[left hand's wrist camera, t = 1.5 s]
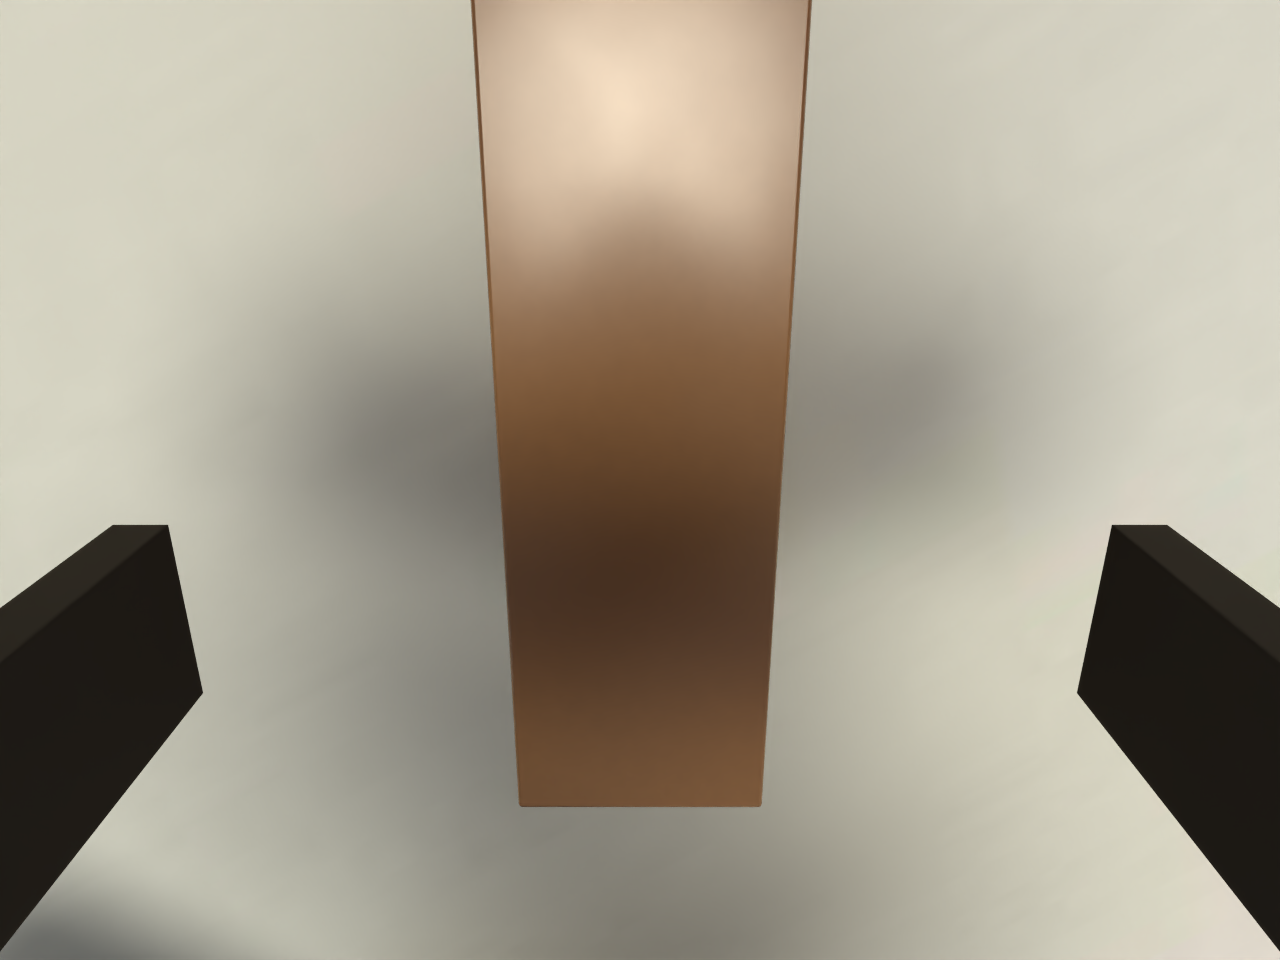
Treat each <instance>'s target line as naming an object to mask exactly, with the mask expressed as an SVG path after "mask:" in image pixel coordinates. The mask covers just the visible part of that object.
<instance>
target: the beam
mask: <svg viewBox="0 0 1280 960" xmlns="http://www.w3.org/2000/svg"><path fill="white" fill-rule="evenodd" d="M811 8H812V0H471V12H472V29H473V45H474V62H475V79H476V96H477V112H478V129H479V146H480V163H481V179H482V196H483V213H484V229H485V246H486V263H487V280H488V296H489V313H490V330H491V346H492V363H493V380H494V397H495V413H496V430H497V447H498V464H499V480H500V497H501V514H502V530H503V547H504V564H505V581H506V597H507V614H508V631H509V647H510V664H511V681H512V698H513V714H514V731H515V748H516V765H517V781H518V798H519V805H520V806H522V807H760V806H761V804H762V790H763V774H764V758H765V742H766V727H767V711H768V695H769V679H770V663H771V647H772V631H773V615H774V599H775V583H776V567H777V551H778V535H779V519H780V503H781V487H782V471H783V455H784V439H785V423H786V407H787V391H788V375H789V359H790V343H791V327H792V311H793V295H794V279H795V264H796V248H797V232H798V216H799V200H800V184H801V168H802V152H803V136H804V120H805V104H806V88H807V72H808V56H809V40H810V24H811Z"/></svg>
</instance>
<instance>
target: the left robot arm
mask: <svg viewBox="0 0 1280 960" xmlns="http://www.w3.org/2000/svg"><path fill="white" fill-rule="evenodd" d="M202 694H203V691H202V686H201V681H200V676H199V672H198V667H197V662H196V657H195V652H194V648H193V643H192V638H191V633H190V628H189V624H188V619H187V614H186V609H185V604H184V600H183V595H182V590H181V585H180V580H179V576H178V571H177V566H176V561H175V556H174V552H173V547H172V542H171V537H170V532H169V528H168V525H112V526H111V527H110V528H108V529H107V530H105V531H104V532H103V533H101V534H100V535H99V536H97V537H96V538H95V539H93V540H92V541H91V542H89V543H88V544H86V545H85V546H84V547H82V548H81V549H80V550H78V551H77V552H76V553H74V554H73V555H72V556H70V557H69V558H67V559H66V560H65V561H63V562H62V563H61V564H59V565H58V566H57V567H55V568H54V569H53V570H51V571H50V572H49V573H47V574H46V575H44V576H43V577H42V578H40V579H39V580H38V581H36V582H35V583H34V584H32V585H31V586H30V587H28V588H27V589H25V590H24V591H23V592H21V593H20V594H19V595H17V596H16V597H15V598H13V599H12V600H11V601H9V602H8V603H7V604H5V605H4V606H2V607H1V608H0V951H1V950H2V948H3V947H4V946H5V945H6V943H7V942H8V941H9V939H10V938H11V937H12V936H13V934H14V933H15V932H16V931H17V929H18V928H19V927H20V925H21V924H22V923H23V922H24V920H25V919H26V918H27V917H28V915H29V914H30V913H31V911H32V910H33V909H34V908H35V906H36V905H37V904H38V903H39V901H40V900H41V899H42V897H43V896H44V895H45V894H46V892H47V891H48V890H49V889H50V887H51V886H52V885H53V883H54V882H55V881H56V880H57V878H58V877H59V876H60V874H61V873H62V872H63V871H64V869H65V868H66V867H67V866H68V864H69V863H70V862H71V860H72V859H73V858H74V857H75V855H76V854H77V853H78V852H79V850H80V849H81V848H82V846H83V845H84V844H85V843H86V841H87V840H88V839H89V838H90V836H91V835H92V834H93V832H94V831H95V830H96V829H97V827H98V826H99V825H100V824H101V822H102V821H103V820H104V818H105V817H106V816H107V815H108V813H109V812H110V811H111V810H112V808H113V807H114V806H115V804H116V803H117V802H118V801H119V799H120V798H121V797H122V795H123V794H124V793H125V792H126V790H127V789H128V788H129V787H130V785H131V784H132V783H133V781H134V780H135V779H136V778H137V776H138V775H139V774H140V773H141V771H142V770H143V769H144V767H145V766H146V765H147V764H148V762H149V761H150V760H151V759H152V757H153V756H154V755H155V753H156V752H157V751H158V750H159V748H160V747H161V746H162V745H163V743H164V742H165V741H166V739H167V738H168V737H169V736H170V734H171V733H172V732H173V731H174V729H175V728H176V727H177V725H178V724H179V723H180V722H181V720H182V719H183V718H184V716H185V715H186V714H187V713H188V711H189V710H190V709H191V708H192V706H193V705H194V704H195V702H196V701H197V700H198V699H199V697H200V696H201V695H202ZM1077 694H1078V695H1079V696H1080V697H1081V699H1082V700H1083V701H1084V702H1085V704H1086V705H1087V706H1088V708H1089V709H1090V710H1091V711H1092V713H1093V714H1094V715H1095V717H1096V718H1097V719H1098V720H1099V722H1100V723H1101V724H1102V725H1103V727H1104V728H1105V729H1106V731H1107V732H1108V733H1109V734H1110V736H1111V737H1112V738H1113V739H1114V741H1115V742H1116V743H1117V745H1118V746H1119V747H1120V748H1121V750H1122V751H1123V752H1124V753H1125V755H1126V756H1127V757H1128V759H1129V760H1130V761H1131V762H1132V764H1133V765H1134V766H1135V767H1136V769H1137V770H1138V771H1139V773H1140V774H1141V775H1142V776H1143V778H1144V779H1145V780H1146V781H1147V783H1148V784H1149V785H1150V787H1151V788H1152V789H1153V790H1154V792H1155V793H1156V794H1157V795H1158V797H1159V798H1160V799H1161V801H1162V802H1163V803H1164V804H1165V806H1166V807H1167V808H1168V810H1169V811H1170V812H1171V813H1172V815H1173V816H1174V817H1175V818H1176V820H1177V821H1178V822H1179V824H1180V825H1181V826H1182V827H1183V829H1184V830H1185V831H1186V832H1187V834H1188V835H1189V836H1190V838H1191V839H1192V840H1193V841H1194V843H1195V844H1196V845H1197V846H1198V848H1199V849H1200V850H1201V852H1202V853H1203V854H1204V855H1205V857H1206V858H1207V859H1208V860H1209V862H1210V863H1211V864H1212V866H1213V867H1214V868H1215V869H1216V871H1217V872H1218V873H1219V874H1220V876H1221V877H1222V878H1223V880H1224V881H1225V882H1226V883H1227V885H1228V886H1229V887H1230V889H1231V890H1232V891H1233V892H1234V894H1235V895H1236V896H1237V897H1238V899H1239V900H1240V901H1241V903H1242V904H1243V905H1244V906H1245V908H1246V909H1247V910H1248V911H1249V913H1250V914H1251V915H1252V917H1253V918H1254V919H1255V920H1256V922H1257V923H1258V924H1259V925H1260V927H1261V928H1262V929H1263V931H1264V932H1265V933H1266V934H1267V936H1268V937H1269V938H1270V939H1271V941H1272V942H1273V943H1274V945H1275V946H1276V947H1277V948H1278V950H1279V951H1280V608H1279V607H1278V606H1276V605H1275V604H1273V603H1272V602H1271V601H1269V600H1268V599H1267V598H1265V597H1264V596H1263V595H1261V594H1260V593H1259V592H1257V591H1256V590H1255V589H1253V588H1252V587H1250V586H1249V585H1248V584H1246V583H1245V582H1244V581H1242V580H1241V579H1240V578H1238V577H1237V576H1236V575H1234V574H1233V573H1231V572H1230V571H1229V570H1227V569H1226V568H1225V567H1223V566H1222V565H1221V564H1219V563H1218V562H1217V561H1215V560H1214V559H1213V558H1211V557H1210V556H1208V555H1207V554H1206V553H1204V552H1203V551H1202V550H1200V549H1199V548H1198V547H1196V546H1195V545H1194V544H1192V543H1191V542H1189V541H1188V540H1187V539H1185V538H1184V537H1183V536H1181V535H1180V534H1179V533H1177V532H1176V531H1175V530H1173V529H1172V528H1170V527H1169V526H1168V525H1112V528H1111V532H1110V537H1109V542H1108V547H1107V552H1106V556H1105V561H1104V566H1103V571H1102V576H1101V580H1100V585H1099V590H1098V595H1097V600H1096V604H1095V609H1094V614H1093V619H1092V624H1091V628H1090V633H1089V638H1088V643H1087V648H1086V652H1085V657H1084V662H1083V667H1082V672H1081V676H1080V681H1079V686H1078V691H1077Z"/></svg>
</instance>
